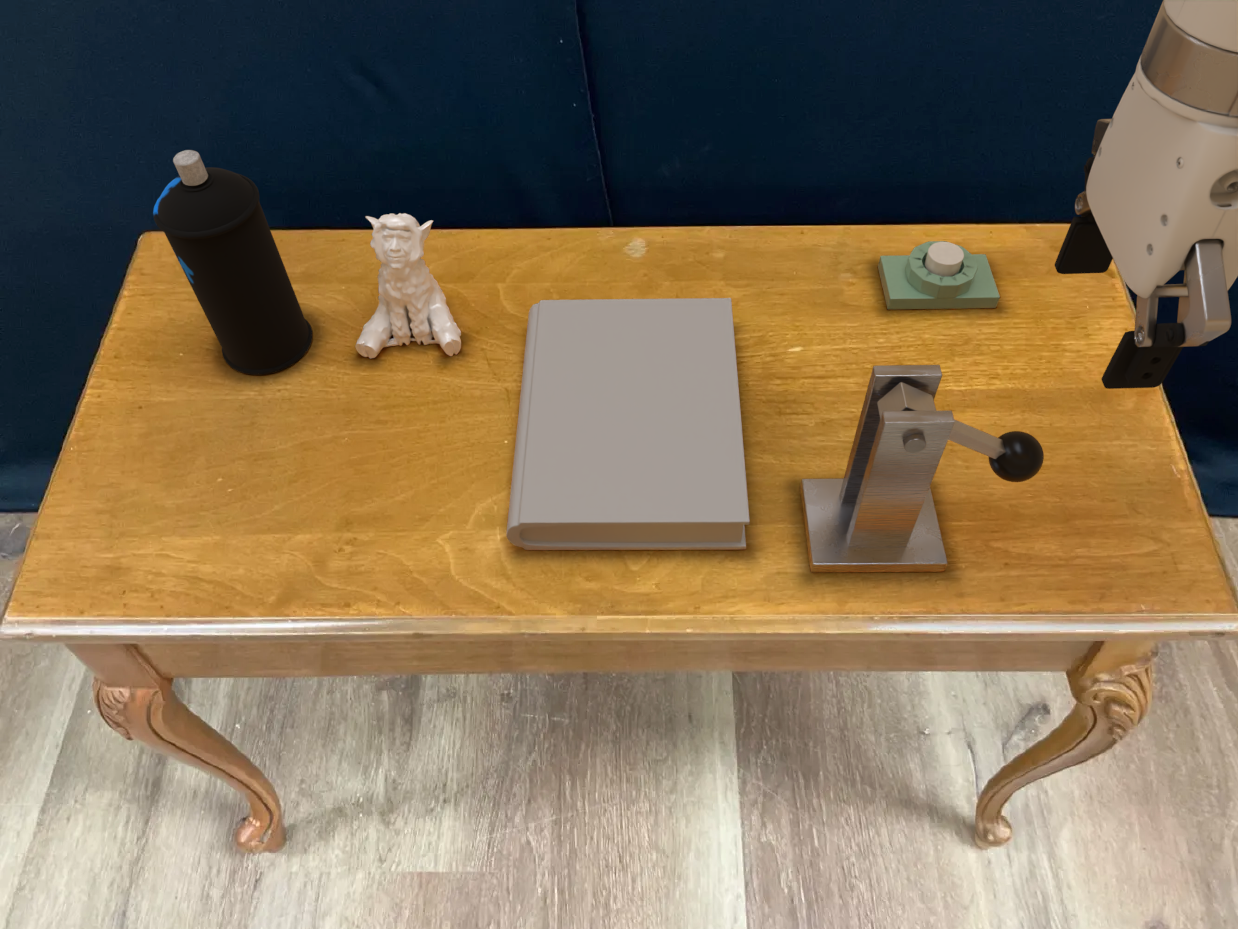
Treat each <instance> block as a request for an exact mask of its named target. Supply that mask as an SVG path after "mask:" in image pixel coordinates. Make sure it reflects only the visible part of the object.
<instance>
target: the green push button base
mask: <svg viewBox="0 0 1238 929" xmlns="http://www.w3.org/2000/svg"><path fill="white" fill-rule="evenodd" d="M937 242H948V241H946V240H933V241H931V240H929V241H925V242H923V243H921V244H918V245H917V246H915V247H913V249H912V251H911V252H910V254H906V255H899V254H898V255H897V254H896V255H895V254H894V255H880V256H879V259H878V264H877V269H878V274H879V277H880V283H881V287H882V291H883V295H884V300H885V304H886V308H887V310H948V309H949V310H952V309H954V310H955V309H956V310H957V309H963V310H964V309H996V308H997V307H998V304H999V300H1000V298H1001V296H1000V293H999V291H998V287H997V284H996V280H995V277H994V275H993V272H992V268H991V266H990V263H989V260H988V257H987V254H984V253H978V254H977V253H973V254H972V253H971V252H970V251H968V249H966V248H965V247H964V246H962V245H959V244H956V243H954V244H955V245H957V246H959V247H960V248H961V249H962V251H963V253H964V258H963V261H962V264H961V267H960V270H959V272H958V273H957V274H956V275H954V276H951V277H942V276H939V275H936V274H933V273H930V272H929V271H928V270H927V269H926V267H925V259H926V256H927V252H928V249H929V247H930V246H931V245H932V244H934V243H937Z"/></svg>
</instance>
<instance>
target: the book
mask: <svg viewBox="0 0 1238 929" xmlns="http://www.w3.org/2000/svg"><path fill="white" fill-rule="evenodd" d="M734 325H735V324H734V315H733V303H732V297H701V298H699V297H697V298H696V297H695V298H694V297H693V298H692V297H691V298H690V297H689V298H614V299H613V298H607V299H606V298H604V299H603V298H602V299H601V298H599V299H589V298H588V299H541V300H539V302H537V303H536V302H535V303H534V304H532V305H531V306H530V308H529V311H528V316H527V326H526V335H525V336H526V337H525V346H524V347H525V348H524V358H523V364H522V365H523V366H522V376H521V386H520V396H519V406H518V414H517V415H518V416H517V425H516V434H515V443H514V444H515V445H514V454H513V463H512V464H513V465H512V474H511V484H510V492H509V495H510V496H509V504H508V513H507V524H506V532H505V534H506V535H505V536H506V539H507V540H508V542H509V543H510V544H512V546H515V547H517V548H518V547H519V548H522V549H523V550H525V551H648V550H649V551H658V550H659V551H661V550H662V551H667V550H668V551H675V550H677V551H681V550H682V551H683V550H684V551H688V550H690V551H692V550H693V551H695V550H697V551H698V550H700V551H701V550H704V551H705V550H707V551H708V550H715V551H717V550H723V551H724V550H727V551H728V550H729V551H731V550H747V540H746V527H745V526H747V525H750V511H749V508H750V507H749V497H748V496H749V495H748V485H747V474H746V473H747V472H746V460H745V449H744V439H743V438H744V437H743V425H742V413H741V401H740V400H741V398H740V389H739V388H740V386H739V376H738V375H739V374H738V364H737V352H736V340H735V338H736V337H735V329H734V328H735V326H734Z"/></svg>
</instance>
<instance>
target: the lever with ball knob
mask: <svg viewBox="0 0 1238 929" xmlns="http://www.w3.org/2000/svg"><path fill="white" fill-rule="evenodd" d="M877 404H878V409H879V414H880V419H881V416H882V413H883V411H937V408H936V404H935V399H934V400H933V396H932V395H930V394H928V393H926V392H923V391H921V390H919V389H917V388H914V387H912V386H910V385H907V384H905V383H903V382H900V383H899V384H898V385H897V386H895V387H894V388H893V389H892V390H891V391H890V392H888V393H887V394H886V395H885V396H884V397H883V398H881V399H880V400H879V401H878V402H877ZM954 421H955V423H954V426H953V428H952V431H951V433H950V436H949V439H948V441H951V442H953V443H955V444H958V445H960V446H962V447H964V448H967V449H970V450H972V451H973V452H974V451H975V452H977V453H978V454H981V455H984V456H986V457H988V464H989V467H990V469H991V470H992V472H993V473H994V474H995V475H996V476H997V477H999V479H1002V480H1003V481H1006V482H1009V483H1023V482H1026V481H1028V480H1031V479H1033V477H1035V476H1036V475H1037V474H1038V473H1039V472H1040V470H1042V467H1043V464H1044V461H1045V460H1044V458H1045V455H1044V454H1045V452H1044V448H1043V447H1042V444H1041V443H1040V441H1039V440H1038V439H1037V438H1036V437H1035V436H1033V435H1032V434H1030V433H1028V432H1025V431H1020V430H1013V431H1008V432H1004V433H1002V434H1001V435H999V436H998V437H997V436H995V435H992V434H991V433H988V432H985V431H983V430H980V429H978V428H975V427H974V426H971V425H969V424H966V423H964V422H961V421H959V420H957V419H955V418H954Z"/></svg>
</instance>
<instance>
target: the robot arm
mask: <svg viewBox="0 0 1238 929" xmlns="http://www.w3.org/2000/svg"><path fill="white" fill-rule="evenodd" d="M1091 145H1092V146H1091V152H1090V154H1092V156H1090V157H1089V158H1087V160H1086V162H1085V164H1084V166H1083V172H1084V191H1082V192H1081V193H1079V194H1078V195H1077V196H1076V198H1075V202H1074V211H1075V214H1076V215H1077V216H1073V218H1072V219H1071V222H1070V224H1069V228H1068V229H1067V232H1066V235H1065V237H1064V239H1063V242H1062V245H1061V247H1060V249H1059V252H1058V254H1057V257H1056V258H1055V262H1054V268H1055V271H1056V272H1057V273H1058V274H1061V275H1074V274H1075V275H1081V274H1083V275H1085V274H1104V273H1106V272H1108V270H1109V268H1110V266H1111V264H1112V261H1114V263H1115V265H1116V267H1117V269H1118V271H1119V273H1120V275H1121V277H1122V279H1123V281H1124V283H1125V284H1126V285H1127V287H1128V288H1129V289H1130V291H1132V292H1133V293H1134V294H1135V295H1137V296H1136V305H1135V306H1136V308H1135V320H1134V330H1129V331H1125V332H1124V334H1123V335H1122V337H1121V339H1120V341H1119V343H1118V344H1117V347H1116V349H1115V350H1114V353H1113V355H1112V356H1111V358H1110V360H1109V362H1108V363H1107V366H1106V368H1105V370H1104V372H1103V374H1102V377H1101V383H1102V384H1103V387H1104V388H1105V389H1107V390H1117V389H1118V390H1119V389H1154V388H1157V387H1159V386H1161V385H1162V384H1163V382H1164V381H1165V379H1166V377H1167V376H1168V374H1169V372H1170V370H1171V369H1172V367H1173V366H1174V363H1175V362H1176V360H1177V359H1178V357H1179V355H1180V353H1181V352H1182V350H1183V348H1184V347H1205V346H1207V345H1208V344H1209V342H1211V341H1213V340H1214V339H1216V338H1218V337H1220V336H1222V335H1224V334H1225V333H1227V332H1228V331H1229V330H1230V328H1231V325H1232V315H1231V314H1232V313H1231V308H1230V307H1231V306H1230V300H1229V290H1230V289H1231V287H1232V286H1233V284H1234V283H1235V281H1236V279H1237V278H1238V0H1162V2H1161V5H1160V7H1159V10H1158V12H1157V15H1156V17H1155V20H1154V22H1153V25H1152V27H1151V29H1150V32H1149V34H1148V37H1147V39H1146V41H1145V45H1144V47H1143V49H1142V52H1141V54H1140V56H1139V59H1138V62H1137V64H1136V67H1135V71H1134V74H1133V75H1132V77H1131V79H1130V80H1129V82H1128V85H1127V87H1126V88H1125V91H1124V92H1123V94H1122V96H1121V98H1120V100H1119V103H1118V104H1117V106H1116V109H1115V111H1114V113H1113V115H1112V118H1101V119H1098V120H1097V122H1096V123H1095V127H1094V133H1093V139H1092V144H1091ZM1180 271H1184V274H1183V283H1176V284H1174V283H1170V284H1169V283H1168V284H1166V283H1167V282H1168V281H1170V280H1171V279H1172V278H1173V277H1174V276H1175V275H1177V273H1178V272H1180ZM1177 297H1178V298H1179V299H1178V308H1177V320H1176V322H1165V323H1164V322H1162V323H1157V320H1158V319H1157V318H1158V308H1159V307H1158V306H1159V298H1177Z"/></svg>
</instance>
